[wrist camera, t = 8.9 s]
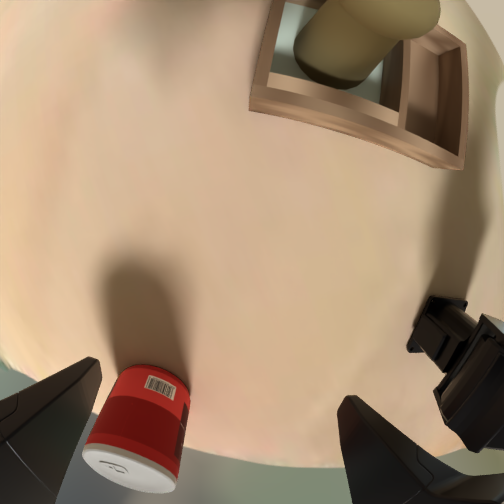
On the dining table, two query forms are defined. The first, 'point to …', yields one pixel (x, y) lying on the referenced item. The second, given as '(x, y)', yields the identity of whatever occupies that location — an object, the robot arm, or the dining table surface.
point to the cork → (358, 37)
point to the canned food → (141, 430)
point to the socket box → (372, 91)
